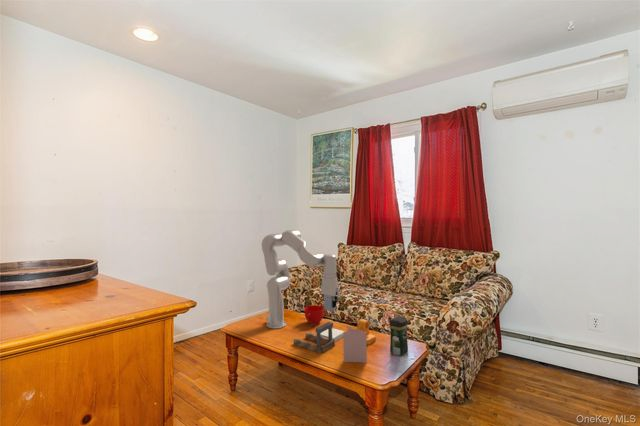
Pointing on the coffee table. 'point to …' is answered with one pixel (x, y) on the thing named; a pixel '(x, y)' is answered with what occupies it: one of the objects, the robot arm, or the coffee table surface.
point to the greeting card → (354, 346)
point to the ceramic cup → (314, 314)
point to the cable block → (328, 303)
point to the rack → (314, 347)
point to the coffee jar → (398, 336)
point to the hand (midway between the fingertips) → (330, 305)
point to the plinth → (333, 334)
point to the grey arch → (323, 328)
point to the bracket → (366, 330)
